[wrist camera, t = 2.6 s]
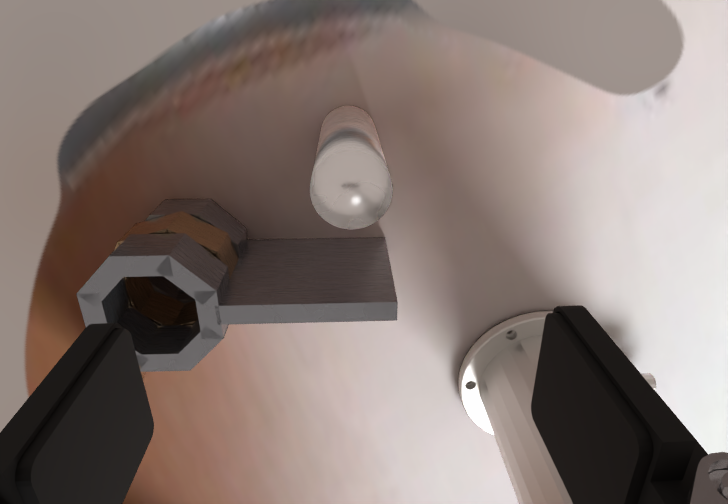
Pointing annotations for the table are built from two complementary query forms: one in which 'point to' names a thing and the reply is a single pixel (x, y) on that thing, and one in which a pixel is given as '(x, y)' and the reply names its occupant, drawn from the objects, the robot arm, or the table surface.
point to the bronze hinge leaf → (140, 288)
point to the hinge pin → (350, 171)
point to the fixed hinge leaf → (236, 285)
